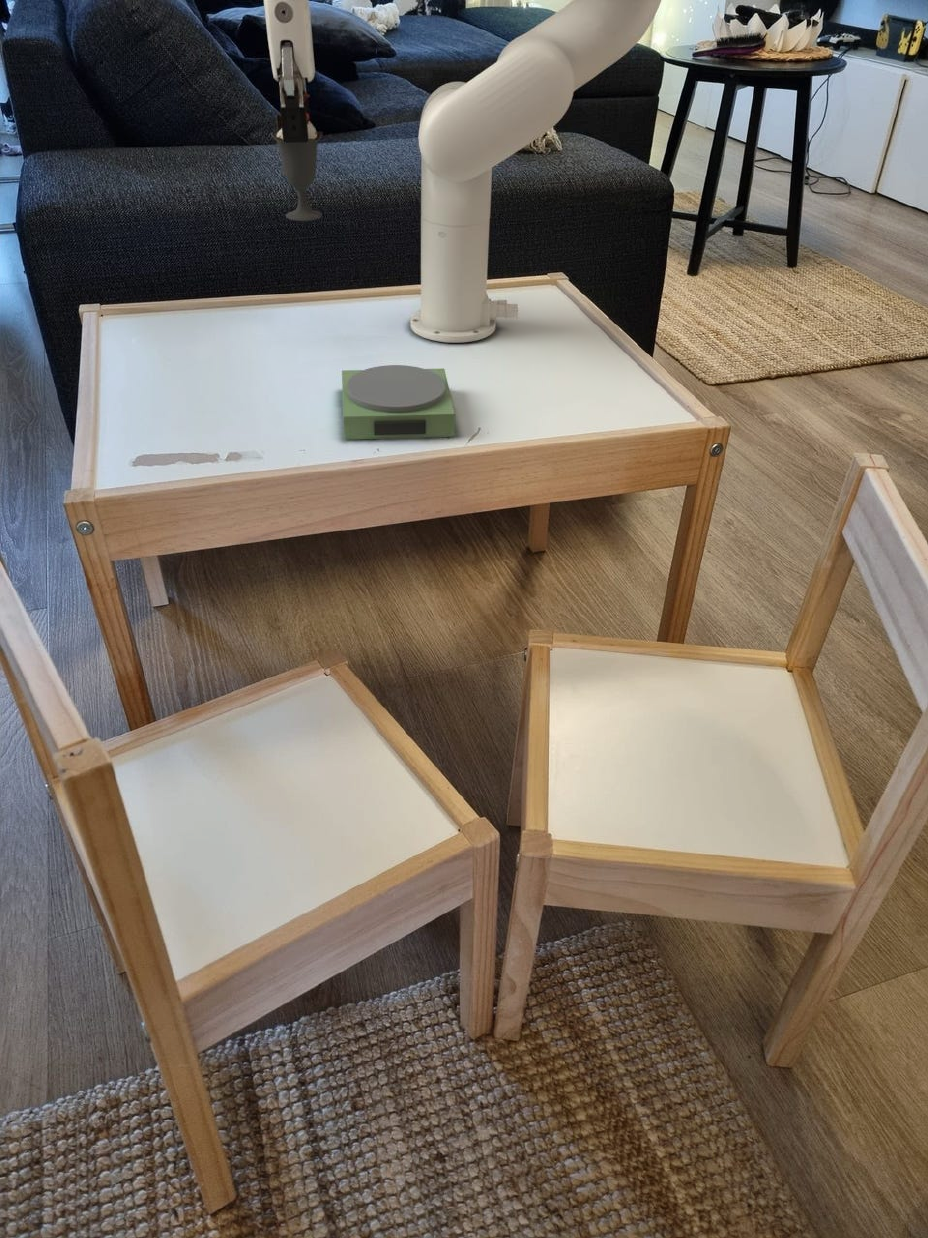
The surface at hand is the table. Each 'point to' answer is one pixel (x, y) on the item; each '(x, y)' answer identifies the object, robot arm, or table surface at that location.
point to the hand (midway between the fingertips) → (297, 134)
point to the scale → (397, 403)
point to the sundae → (299, 167)
